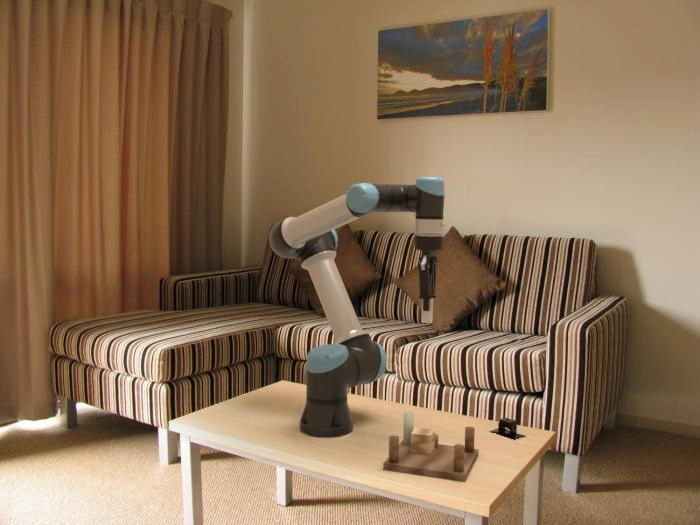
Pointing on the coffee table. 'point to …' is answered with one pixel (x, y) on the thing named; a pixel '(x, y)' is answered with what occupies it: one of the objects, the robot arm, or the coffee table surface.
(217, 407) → the coffee table surface
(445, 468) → the stool board
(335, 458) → the coffee table surface
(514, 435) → the black bracket plate
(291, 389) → the coffee table surface
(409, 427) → the gate leg
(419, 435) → the maple block
